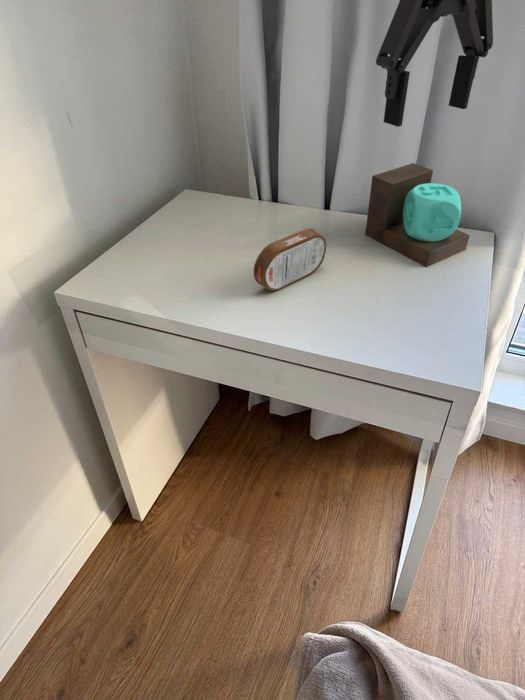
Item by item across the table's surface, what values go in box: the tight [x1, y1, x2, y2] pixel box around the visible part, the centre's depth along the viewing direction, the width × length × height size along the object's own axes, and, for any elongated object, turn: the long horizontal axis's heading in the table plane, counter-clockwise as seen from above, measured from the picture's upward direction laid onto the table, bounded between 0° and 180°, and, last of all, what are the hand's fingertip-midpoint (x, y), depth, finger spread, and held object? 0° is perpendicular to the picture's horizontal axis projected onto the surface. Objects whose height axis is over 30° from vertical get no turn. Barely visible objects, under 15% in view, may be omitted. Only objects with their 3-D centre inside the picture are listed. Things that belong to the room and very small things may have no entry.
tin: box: [253, 227, 327, 292], centre depth 85 cm, size 15×3×8 cm, turn 130°
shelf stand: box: [364, 162, 470, 268], centre depth 94 cm, size 16×11×12 cm
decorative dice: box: [403, 182, 462, 242], centre depth 92 cm, size 8×8×8 cm
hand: (426, 115), depth 71 cm, fingers open, 13 cm apart
